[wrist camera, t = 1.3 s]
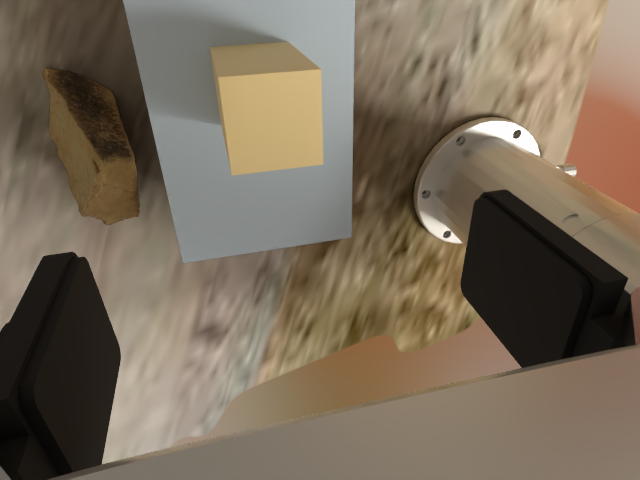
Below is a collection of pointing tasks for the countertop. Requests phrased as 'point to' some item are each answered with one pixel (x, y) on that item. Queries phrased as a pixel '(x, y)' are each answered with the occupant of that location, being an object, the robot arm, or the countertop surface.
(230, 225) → the lid
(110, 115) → the rock
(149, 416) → the countertop surface
